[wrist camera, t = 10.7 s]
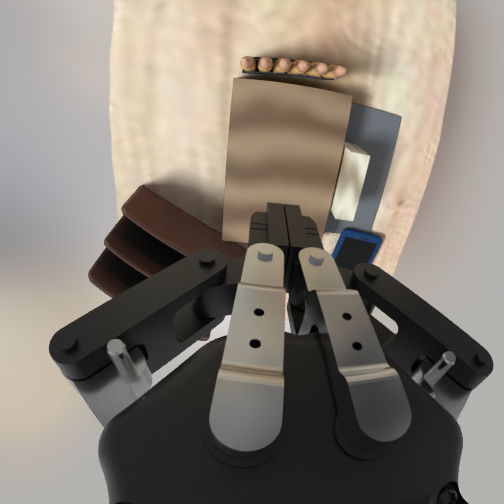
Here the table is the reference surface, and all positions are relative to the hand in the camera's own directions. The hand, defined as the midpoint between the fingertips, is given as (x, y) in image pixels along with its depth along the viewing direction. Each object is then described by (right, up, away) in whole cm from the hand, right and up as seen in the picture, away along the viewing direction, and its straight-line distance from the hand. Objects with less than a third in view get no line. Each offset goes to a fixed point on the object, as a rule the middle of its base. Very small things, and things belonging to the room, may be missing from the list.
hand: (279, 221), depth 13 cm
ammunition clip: (+3, +22, +17) cm, 28 cm away
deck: (+3, +11, +24) cm, 26 cm away
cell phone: (+15, -4, +34) cm, 37 cm away
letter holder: (-13, +1, +32) cm, 34 cm away
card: (+11, +8, +22) cm, 26 cm away
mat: (+14, +10, +25) cm, 30 cm away
